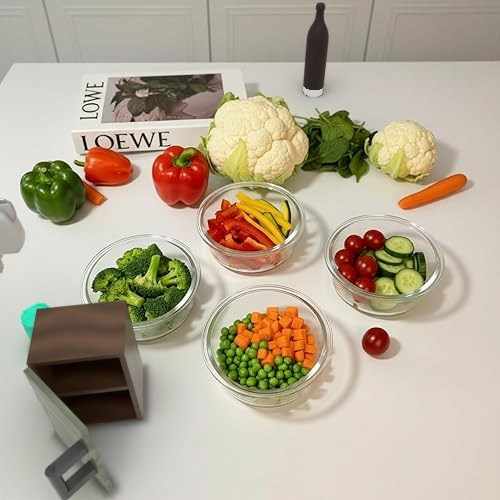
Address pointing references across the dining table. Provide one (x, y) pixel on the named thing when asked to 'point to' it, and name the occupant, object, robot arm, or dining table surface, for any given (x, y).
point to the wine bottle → (316, 51)
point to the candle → (31, 317)
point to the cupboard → (90, 360)
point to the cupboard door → (68, 444)
